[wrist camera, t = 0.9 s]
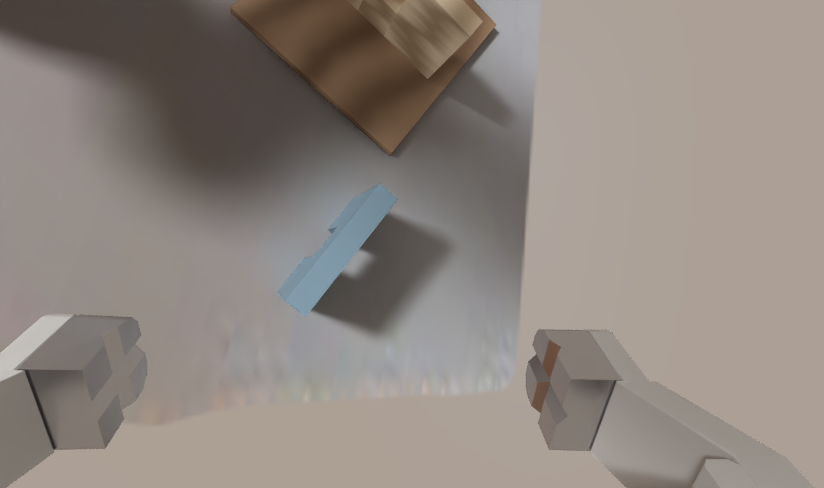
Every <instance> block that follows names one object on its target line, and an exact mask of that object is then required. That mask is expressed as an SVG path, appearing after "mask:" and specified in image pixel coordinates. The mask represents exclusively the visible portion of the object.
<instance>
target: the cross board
mask: <svg viewBox="0 0 824 488" xmlns="http://www.w3.org/2000/svg"><path fill="white" fill-rule="evenodd" d="M230 8H231V13H232V14H233V15H234V16H235V17H236V18H237V19H238V20H239V21H240V22H242V23H243V24H244V25H245V26H246V27H247V28H248V29H249V30H250V31H252V32H253V33H254V34H255V35H256V36H257V37H258V38H259V39H260V40H262V41H263V42H264V43H265V44H266V45H267V46H268V47H269V48H270V49H272V50H273V51H274V52H275V53H276V54H277V55H278V56H279V57H280V58H282V59H283V60H284V61H285V62H286V63H287V64H288V65H289V66H290V67H291V68H293V69H294V70H295V71H296V72H297V73H298V74H299V75H300V76H301V77H303V78H304V79H305V80H306V81H307V82H308V83H309V84H310V85H311V86H313V87H314V88H315V89H316V90H317V91H318V92H319V93H320V94H321V95H323V96H324V97H325V98H326V99H327V100H328V101H329V102H330V103H331V104H333V105H334V106H335V107H336V108H337V109H338V110H339V111H340V112H341V113H343V114H344V115H345V116H346V117H347V118H348V119H349V120H350V121H351V122H353V123H354V124H355V125H356V126H357V127H358V128H359V129H360V130H361V131H362V132H364V133H365V134H366V135H367V136H368V137H369V138H370V139H371V140H372V141H374V142H375V143H376V144H377V145H378V146H379V147H380V148H381V149H382V150H384V151H385V152H386V153H387V154H388V155H390V154H391V153H392V152H393V151H394V150H395V148H396V147H397V146H398V145H399V144H400V142H401V141H402V140H403V139H404V137H405V136H406V135H407V134H408V133H409V131H410V130H411V129H412V128H413V126H414V125H415V124H416V123H417V121H418V120H419V119H420V118H421V117H422V115H423V114H424V113H425V112H426V110H427V109H428V108H429V107H430V106H431V104H432V103H433V102H434V101H435V99H436V98H437V97H438V96H439V95H440V93H441V92H442V91H443V90H444V88H445V87H446V86H447V85H448V83H449V82H450V81H451V80H452V79H453V77H454V76H455V75H456V74H457V72H458V71H459V70H460V69H461V68H462V66H463V65H464V64H465V63H466V61H467V60H468V59H469V58H470V57H471V55H472V54H473V53H474V52H475V50H476V49H477V48H478V47H479V45H480V44H481V43H482V42H483V41H484V39H485V38H486V37H487V36H488V34H489V33H490V32H491V31H492V30H493V28H494V27H495V26H496V24H495V23H494V22H493V20H492V19H491V18H490V17H489V16H488V15H487V14H486V13H485V12H484V11H483V10H482V9H481V8H480V6H479V5H478V4H477V3H476V2H475V1H474V0H238V1H237V2H236V3H235V4H233V5H232V6H231V7H230Z"/></svg>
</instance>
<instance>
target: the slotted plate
mask: <svg viewBox="0 0 824 488" xmlns="http://www.w3.org/2000/svg"><path fill="white" fill-rule="evenodd" d="M397 200H398V199H397V198H396V197H395V196H394V195H393V194H392V193H391V192H389V191H388V190H387V189H386V188H385V187H384V186H383V185H381V184H378V185H376V186H374V187H372V188H371V189H369V190H367V191H365V192H364V193H362V194H360V195H358V196H357V197H355V198H354V199H353V200H352V201H351V202H350V203H349V205H348V206H347V207H346V208H345V210H344V211H343V212H342V213H341V214H340V216H339V217H338V218H337V219H336V221H335V222H334V223H333V224H332V225H331V227H330V228H329V229H328V230H329V231H330V232H331V233H332V234H331V235H330V237H329V238H328V239H327V240H326V242H325V243H324V244H323V245H322V247H321V248H320V249H319V250H318V251H317V253H316V254H315V255H314V256H313V257H305V259H304V260H303V261H302V262H301V263H300V265H299V266H298V267H297V268H296V270H295V271H294V272H293V273H292V274H291V276H290V277H289V278H288V279H287V281H286V282H285V283H284V284H283V286H282V287H281V288H280V289H279V290H278V293H279V294H280V295H281V297H282V298H283V299H284V300H285V301H286V302H287V303H288V304H290V305H291V306H292V307H294V308H295V309H296V310H298V311H299V312H300V313H302V314H303V315H304V316H307V314H308V313H309V312H310V311H311V309H312V308H313V307H314V306H315V304H316V303H317V302H318V300H319V299H320V298H321V297H322V295H323V294H324V293H325V292H326V290H327V289H328V288H329V286H330V285H331V284H332V283H333V281H334V280H335V279H336V278H337V276H338V275H339V274H340V273H341V271H342V270H343V269H344V267H345V266H346V265H347V264H348V262H349V261H350V260H351V259H352V257H353V256H354V255H355V253H356V252H357V251H358V250H359V248H360V247H361V246H362V245H363V243H364V242H365V241H366V239H367V238H368V237H369V236H370V234H371V233H372V232H373V231H374V229H375V228H376V227H377V225H378V224H379V223H380V222H381V220H382V219H383V218H384V217H385V215H386V214H387V213H388V211H389V210H390V209H391V208H392V206H393V205H394V204H395V203H396V201H397Z"/></svg>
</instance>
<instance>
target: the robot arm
mask: <svg viewBox="0 0 824 488" xmlns="http://www.w3.org/2000/svg"><path fill="white" fill-rule="evenodd" d="M140 336H141V332H140V328H139V325H138V321H137V320H135V319H134V318H132V317H118V316H97V315H75V314H49V315H45V316H42V317H41V318H40V319H39V320H38V321H37V322H35V323H34V324H33V325H32V326H31V327H30V328H28V329H27V330H26V331H25V332H24V333H23V334H22V335H20V336H19V337H18V338H17V339H16V340H15V341H14V342H12V343H11V344H10V345H9V346H8V347H7V348H6V349H4V350H3V351H2V352H1V353H0V488H6V487H7V486H9V485H10V484H12V483H13V482H14V481H16V480H17V479H18V478H20V477H21V476H23V475H24V474H25V473H27V472H28V471H29V470H31V469H32V468H34V467H35V466H36V465H38V464H39V463H40V462H42V461H43V460H44V459H46V458H47V457H48V456H50V455H51V454H53V453H54V450H65V449H66V450H68V449H105V448H106V447H107V445H108V443H109V442H110V440H111V439H112V437H113V436H114V434H115V433H116V431H117V430H118V428H119V426H120V425H121V423H122V422H123V420H124V417H123V413H122V409H124V408H125V407H127V406H129V405H130V404H132V403H133V402H135V401H136V400H137V398H138V396H139V395H140V393H141V391H142V390H143V387H144V383H145V380H146V376H147V360H146V355H145V353H144V352H143V351H142V350H141V349H140V348H139V347H138V346H137V345H136V344H135V343H136V342H137V340H138V339H139V337H140ZM533 347H534V349H535V351H536V353H537V354H536V355H535V356H534V357H533V358H532V359H531V360H530V361H528V366H527V371H526V390H527V394H528V398H529V401H530V403H531V406H532V407H533V408H535V409H536V410H537V411H539V412H540V413H541V414H540V419H539V422H538V423H539V426H540V428H541V431H542V433H543V436H544V438H545V440H546V443H547V445H548V448H549V450H577V451H591V452H590V453H591V454H592V455H593V456H594V457H595V458H596V459H597V460H598V461H599V462H600V463H601V464H602V465H603V466H604V467H605V468H606V469H608V471H610V472H611V473H612V474H613V475H614V476H615V477H616V478H617V479H618V480H619V481H620V482H621V483H622V484H623V485H624V486H625V487H627V488H814V487H813V486H812V485H811V484H810V483H809V481H808V480H807V479H806V478H805V477H804V476H803V475H802V474H801V473H800V472H799V471H798V470H797V469H796V467H794V465H793V464H792V463H791V462H790V461H789V460H788V459H787V458H786V457H784V456H783V455H781V454H779V453H777V452H776V451H774V450H772V449H771V448H769V447H767V446H765V445H764V444H762V443H760V442H759V441H757V440H755V439H753V438H752V437H750V436H748V435H747V434H745V433H743V432H742V431H740V430H738V429H736V428H734V427H733V426H731V425H729V424H728V423H726V422H724V421H723V420H721V419H719V418H718V417H716V416H714V415H712V414H711V413H709V412H707V411H706V410H704V409H702V408H701V407H699V406H697V405H695V404H694V403H692V402H690V401H689V400H687V399H685V398H683V397H682V396H680V395H678V394H677V393H675V392H673V391H672V390H670V389H668V388H666V387H665V386H663V385H661V384H660V383H658V382H649V381H648V379H647V378H646V377H645V375H644V374H643V373H642V371H641V370H640V369H639V368H638V366H637V365H636V364H635V362H634V361H633V360H632V358H631V357H630V356H629V354H628V353H627V352H626V350H625V349H624V348H623V346H622V345H621V344H620V342H619V341H618V340H617V339H616V337H615V336H614V334H613V333H612V332H610V331H608V330H538V331H537V333H536V335H535V338H534V341H533Z"/></svg>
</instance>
